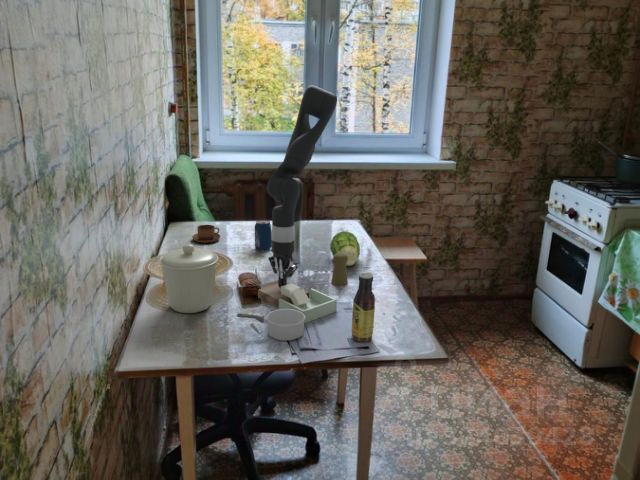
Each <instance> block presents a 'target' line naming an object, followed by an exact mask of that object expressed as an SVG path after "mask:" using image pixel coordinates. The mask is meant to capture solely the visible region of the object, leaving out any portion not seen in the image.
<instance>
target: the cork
mask: <svg viewBox="0 0 640 480" xmlns="http://www.w3.org/2000/svg"><path fill="white" fill-rule="evenodd" d="M332 260H333V262H334V264H333V270H332V275H331V281H330V283H331V284H332V285H333V286H336V287H337V286H338V287H341V286H342V287H343V286H346V285H348V283H349V281H348V271H347V266H346V263H347V261H348V257H347V255H346V254H344V253H337V254H335V255H334V256H333V257H332Z"/></svg>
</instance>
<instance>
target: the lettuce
mask: <svg viewBox="0 0 640 480" xmlns="http://www.w3.org/2000/svg"><path fill="white" fill-rule="evenodd" d="M329 246H330V247H329V248H330V252H331V253H332V256H333V257H334V255H335V254H337V253H344V254H346V255H347V257H348V261H347V263H346V267H350V266H352V265H355V264H356V263H357V261H358V260H359V258H360V256H361V255H360V254H361V253H360V252H361V248H360V247H361V246H360V244H359V241H358V238H357V236H356V235H354V234H353V233H352V232H349V231H339V232H337V233H336V234H335V235H334V236H333V237H332V239H331V241H330V244H329Z"/></svg>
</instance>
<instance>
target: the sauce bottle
mask: <svg viewBox="0 0 640 480" xmlns="http://www.w3.org/2000/svg"><path fill="white" fill-rule="evenodd" d="M373 282H374V275H373V274H372V273H368V272H363V273H360V274H359V275H358V288H357V291H356V293H355V295H354V298H353V302H352V303H353V304H352V314H351V315H352V316H351V317H352V319H351V338H352V339H353V340H354V341H356V342H360V343H361V342H362V343H367V342H369V341H371V340H372V337H373V334H374V322H375V309H376V308H375V307H376V306H375V304H376V296H375V293H374V292H373Z"/></svg>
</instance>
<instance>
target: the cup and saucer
mask: <svg viewBox="0 0 640 480" xmlns="http://www.w3.org/2000/svg"><path fill="white" fill-rule="evenodd" d="M216 230H217V232H216ZM219 233H220V228H219V227H217V226H215V225H212V224H201V225H198V226H197V233H195V234H193V235H192V236H191V238H192V239H193V240H194V241H195V242H198V243H201V244H202V243H204V244H205V243H207V244H208V243H213V242H217V241H218V240H220V238H221V234H219Z"/></svg>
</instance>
